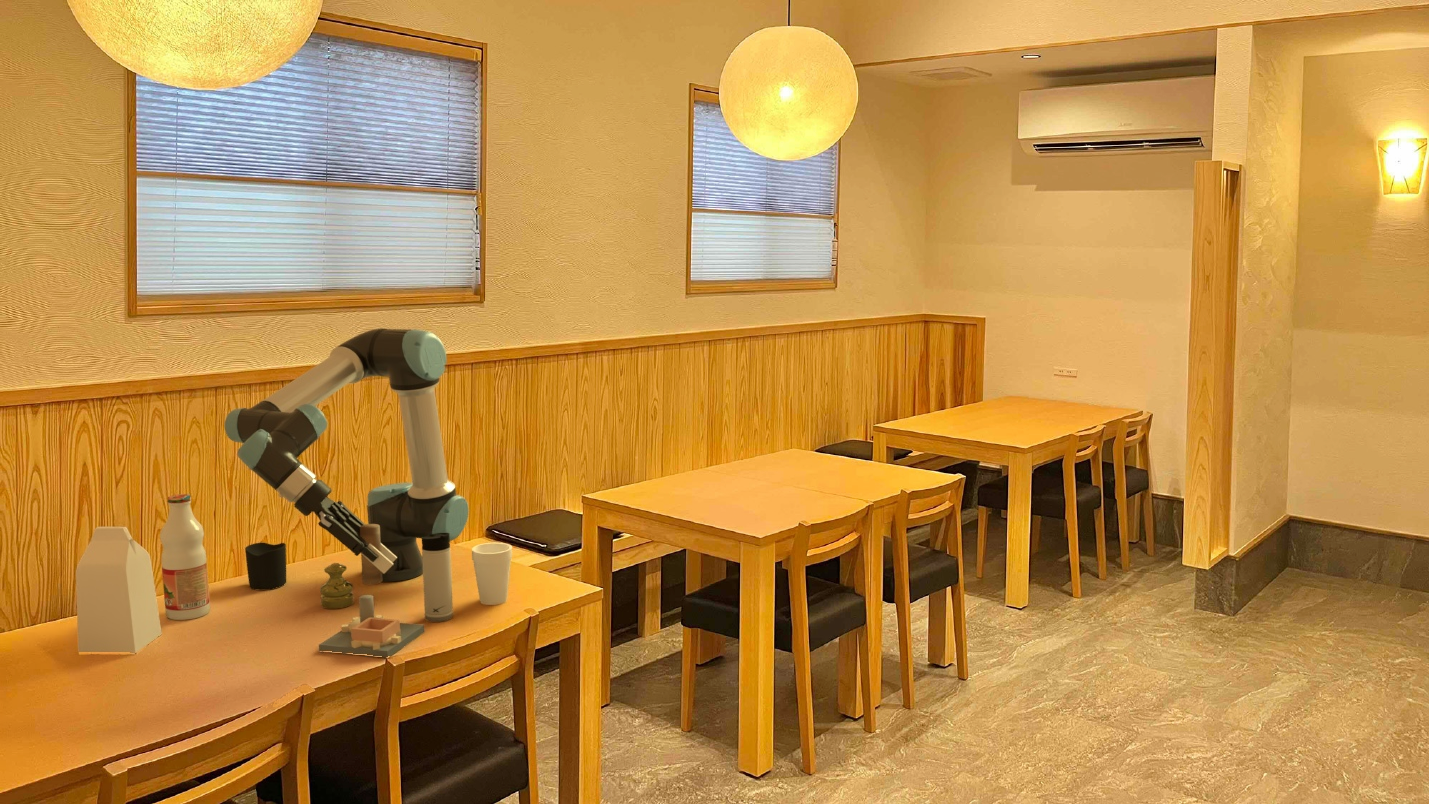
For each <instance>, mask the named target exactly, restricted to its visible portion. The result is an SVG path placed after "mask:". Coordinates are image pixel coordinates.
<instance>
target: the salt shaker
mask: <svg viewBox="0 0 1429 804" xmlns="http://www.w3.org/2000/svg"><path fill="white" fill-rule="evenodd" d="M346 570H347V566H346V565H344V564H341V563H339V562H333V563H331V564H330V565H328V566H326V567H324V570H323V571H324V573H326V574H327V575H328V576H329V579H328V580H327V581H326V582H325V583H324V584H322V585H321V587H320V588H319V591H320V595H321V596H320V606H321V608H323V609H327V610H328V609H329V610H338V608H340V609H344V608H347V607H346V606H348V607H350V606H352V605H353V604H354V593H353V589H354V585H353V584H352V583H351V582H349V581H347V580H346V579H345V578H344V577H343V573H344V572H346ZM343 607H344V608H343Z"/></svg>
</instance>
